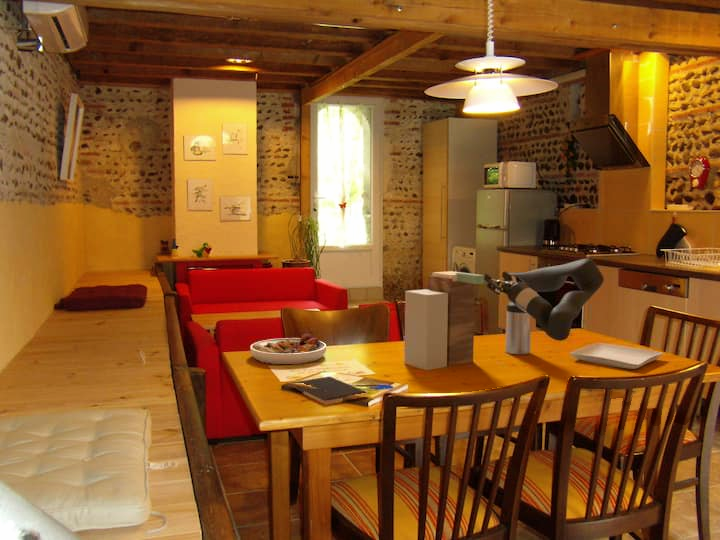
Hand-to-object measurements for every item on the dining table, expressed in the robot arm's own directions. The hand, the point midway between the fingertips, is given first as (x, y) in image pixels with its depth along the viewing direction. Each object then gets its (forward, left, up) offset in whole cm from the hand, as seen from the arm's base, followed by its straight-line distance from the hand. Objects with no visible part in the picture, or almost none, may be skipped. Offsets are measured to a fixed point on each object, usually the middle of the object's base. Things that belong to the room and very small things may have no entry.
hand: (494, 274), depth 241 cm
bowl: (+73, -33, -37) cm, 88 cm away
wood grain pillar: (+10, -23, -36) cm, 44 cm away
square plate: (-56, -20, -37) cm, 70 cm away
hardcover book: (+59, +18, -37) cm, 72 cm away
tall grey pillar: (+21, -16, -36) cm, 45 cm away
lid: (+8, -18, -4) cm, 20 cm away
